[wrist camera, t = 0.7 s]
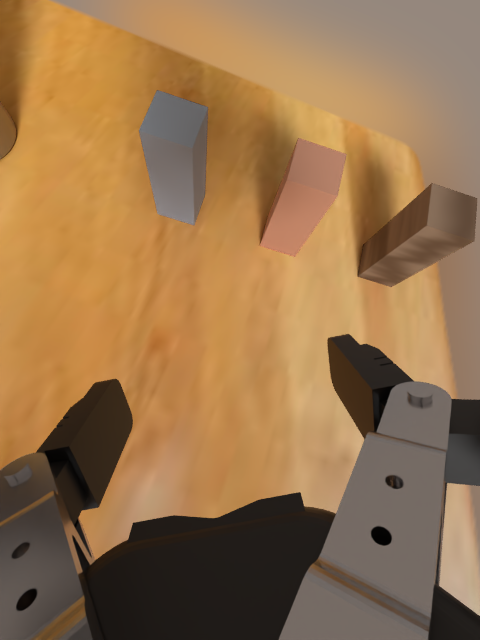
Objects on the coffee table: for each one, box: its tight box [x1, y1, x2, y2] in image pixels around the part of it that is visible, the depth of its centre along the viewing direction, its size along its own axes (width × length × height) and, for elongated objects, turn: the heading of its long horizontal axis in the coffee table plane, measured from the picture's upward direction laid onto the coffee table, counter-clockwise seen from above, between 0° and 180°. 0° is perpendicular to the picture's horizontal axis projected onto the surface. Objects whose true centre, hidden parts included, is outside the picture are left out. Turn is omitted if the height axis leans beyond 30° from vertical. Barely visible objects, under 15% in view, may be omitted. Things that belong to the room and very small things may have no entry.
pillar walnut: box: [358, 183, 477, 287], centre depth 33 cm, size 4×4×12 cm
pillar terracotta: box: [260, 138, 346, 257], centre depth 32 cm, size 4×4×12 cm
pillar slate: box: [139, 90, 208, 225], centre depth 32 cm, size 4×4×12 cm
